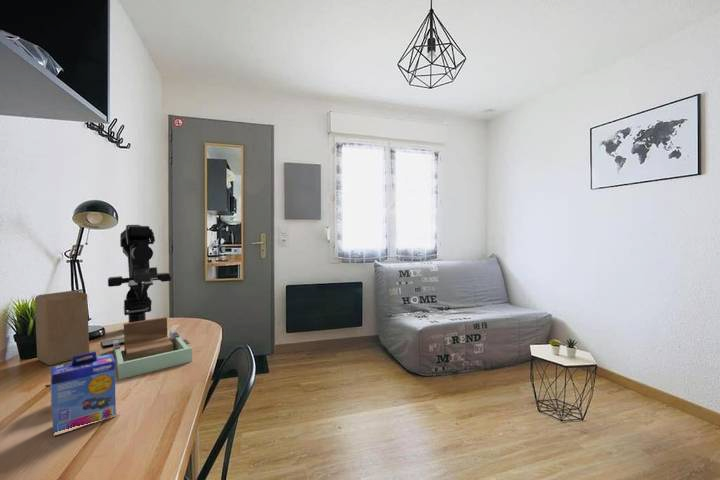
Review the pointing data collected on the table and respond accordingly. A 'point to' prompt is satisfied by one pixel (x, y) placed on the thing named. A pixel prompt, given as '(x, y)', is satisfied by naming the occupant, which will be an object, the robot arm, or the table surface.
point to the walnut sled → (146, 338)
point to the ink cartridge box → (83, 391)
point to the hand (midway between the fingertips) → (141, 302)
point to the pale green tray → (153, 358)
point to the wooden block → (61, 326)
